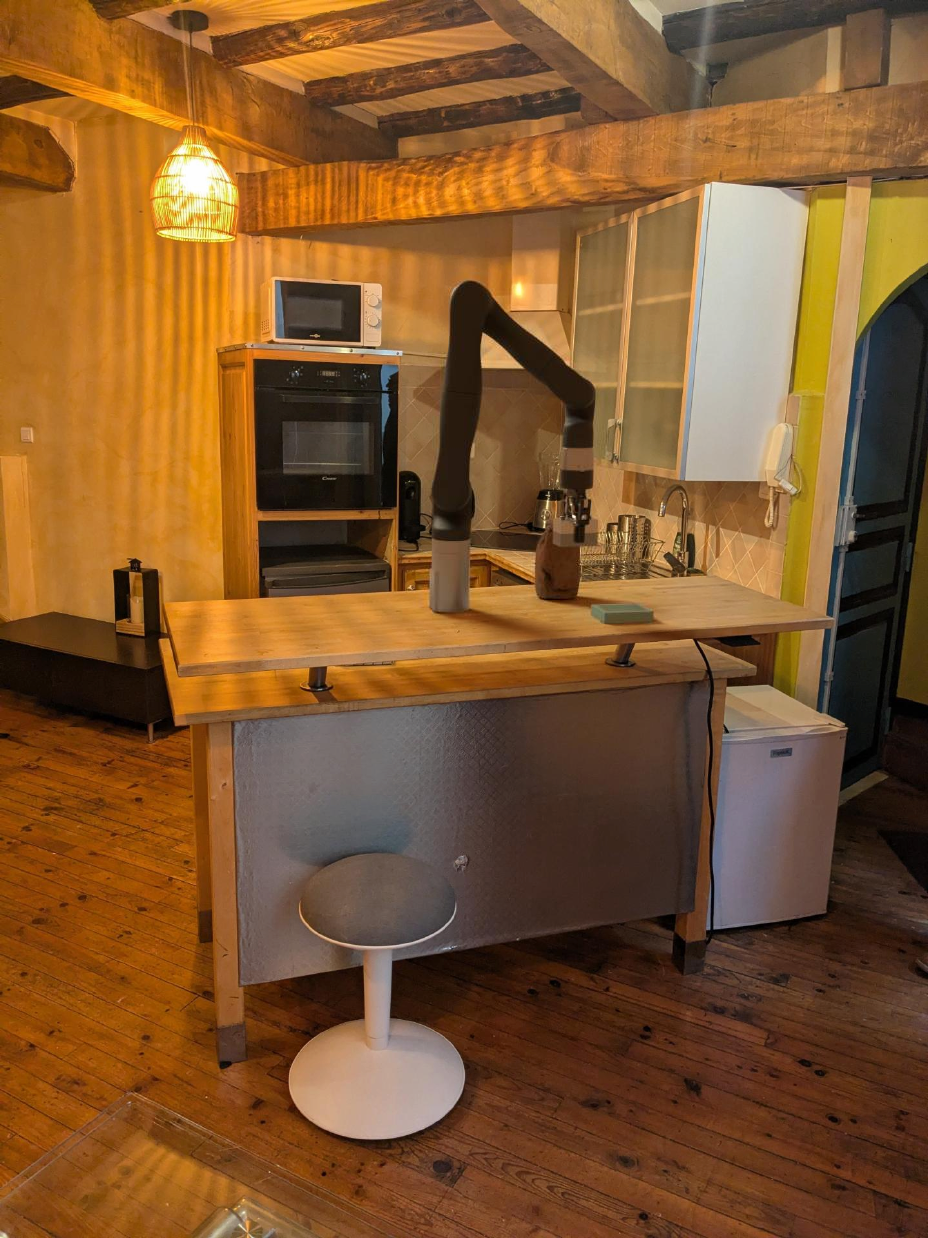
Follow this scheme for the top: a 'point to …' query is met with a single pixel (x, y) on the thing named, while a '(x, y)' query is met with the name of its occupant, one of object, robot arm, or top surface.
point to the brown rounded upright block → (556, 568)
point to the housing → (573, 532)
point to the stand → (622, 613)
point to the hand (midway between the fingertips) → (575, 540)
